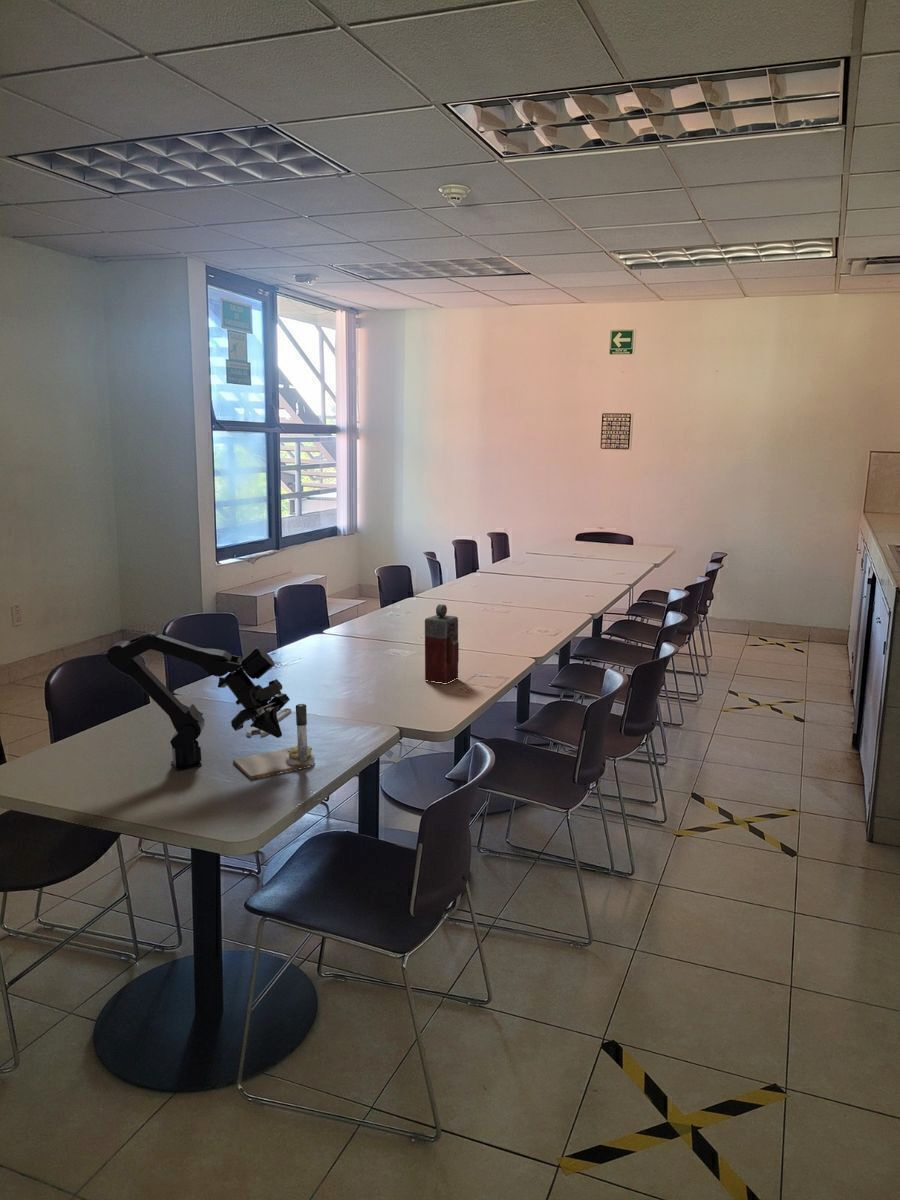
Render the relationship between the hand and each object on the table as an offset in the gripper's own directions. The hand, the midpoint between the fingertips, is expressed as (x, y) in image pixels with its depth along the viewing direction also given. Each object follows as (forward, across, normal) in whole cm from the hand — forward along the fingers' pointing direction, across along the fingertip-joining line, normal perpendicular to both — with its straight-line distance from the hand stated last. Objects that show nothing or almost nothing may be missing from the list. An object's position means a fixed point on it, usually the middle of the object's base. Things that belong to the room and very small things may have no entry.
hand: (280, 736), depth 222 cm
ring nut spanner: (+7, +4, +2) cm, 9 cm away
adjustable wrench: (-10, +30, +24) cm, 40 cm away
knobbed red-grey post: (+8, +96, +4) cm, 96 cm away
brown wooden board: (+4, +3, +9) cm, 10 cm away
